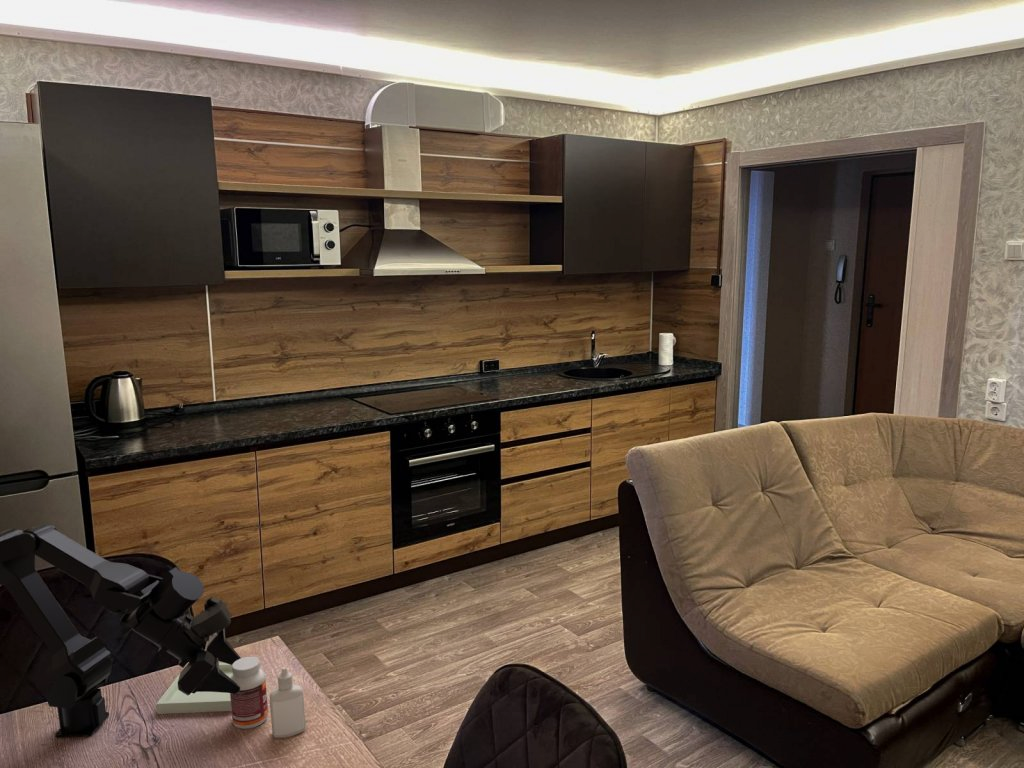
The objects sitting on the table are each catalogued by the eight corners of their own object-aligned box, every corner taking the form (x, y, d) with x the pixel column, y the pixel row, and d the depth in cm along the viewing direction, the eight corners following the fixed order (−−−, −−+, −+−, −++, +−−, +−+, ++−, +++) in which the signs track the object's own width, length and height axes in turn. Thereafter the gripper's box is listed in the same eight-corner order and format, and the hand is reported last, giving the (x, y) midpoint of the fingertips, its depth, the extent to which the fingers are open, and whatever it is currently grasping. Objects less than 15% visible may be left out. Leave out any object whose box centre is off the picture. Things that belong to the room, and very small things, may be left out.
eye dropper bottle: (299, 739, 129) (295, 675, 127) (268, 738, 129) (263, 674, 127) (309, 724, 133) (304, 662, 131) (279, 723, 134) (274, 661, 132)
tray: (157, 713, 137) (156, 703, 137) (188, 673, 151) (187, 663, 151) (234, 710, 138) (233, 700, 137) (257, 670, 152) (256, 661, 151)
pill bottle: (272, 722, 134) (268, 665, 132) (237, 734, 131) (232, 676, 129) (263, 705, 139) (258, 650, 137) (228, 717, 136) (223, 661, 134)
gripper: (192, 616, 120) (269, 667, 125) (205, 572, 138) (272, 619, 143) (144, 670, 119) (224, 720, 124) (163, 619, 137) (232, 664, 142)
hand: (240, 677), depth 133 cm, fingers open, 9 cm apart
